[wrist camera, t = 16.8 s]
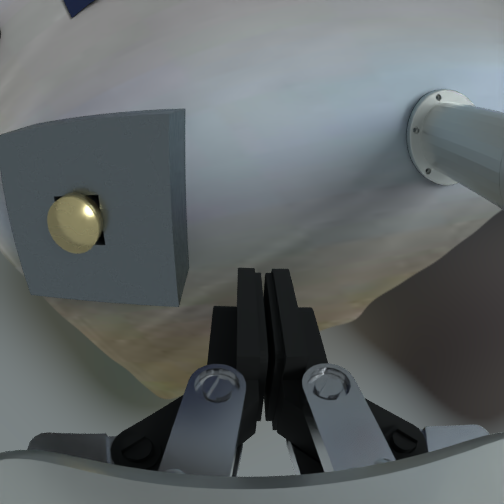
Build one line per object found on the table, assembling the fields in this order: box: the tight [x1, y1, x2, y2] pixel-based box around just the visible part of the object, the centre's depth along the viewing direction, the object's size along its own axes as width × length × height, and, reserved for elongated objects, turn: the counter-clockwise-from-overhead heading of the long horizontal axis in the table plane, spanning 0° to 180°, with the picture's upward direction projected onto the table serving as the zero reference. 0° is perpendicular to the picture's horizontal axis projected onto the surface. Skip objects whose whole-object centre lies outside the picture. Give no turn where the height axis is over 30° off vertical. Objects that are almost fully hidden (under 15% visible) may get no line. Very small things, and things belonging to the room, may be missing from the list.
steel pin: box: [47, 192, 103, 254], centre depth 32 cm, size 6×6×10 cm
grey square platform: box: [0, 109, 189, 307], centre depth 33 cm, size 20×20×8 cm
